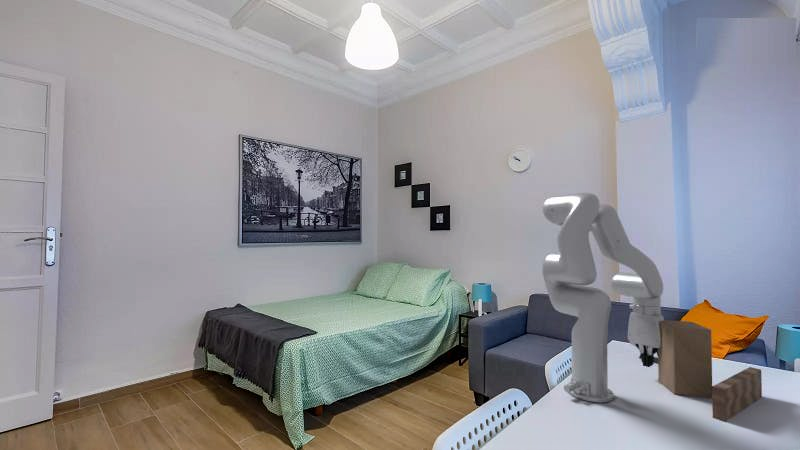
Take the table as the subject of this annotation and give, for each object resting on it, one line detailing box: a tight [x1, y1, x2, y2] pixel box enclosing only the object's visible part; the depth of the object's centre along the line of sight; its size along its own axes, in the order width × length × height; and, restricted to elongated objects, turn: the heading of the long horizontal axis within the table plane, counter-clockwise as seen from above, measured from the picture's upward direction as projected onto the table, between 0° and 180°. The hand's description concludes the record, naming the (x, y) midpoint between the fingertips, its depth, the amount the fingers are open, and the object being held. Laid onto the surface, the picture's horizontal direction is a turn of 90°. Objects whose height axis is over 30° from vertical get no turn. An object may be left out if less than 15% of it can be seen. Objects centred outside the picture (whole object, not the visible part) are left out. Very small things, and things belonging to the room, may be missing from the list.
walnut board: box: [711, 366, 763, 422], centre depth 101 cm, size 28×2×8 cm, turn 121°
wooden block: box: [657, 319, 713, 398], centre depth 112 cm, size 10×10×20 cm
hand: (647, 365), depth 120 cm, fingers closed
